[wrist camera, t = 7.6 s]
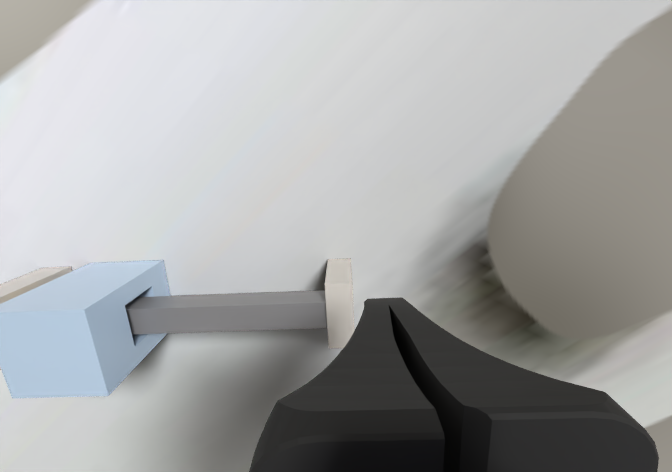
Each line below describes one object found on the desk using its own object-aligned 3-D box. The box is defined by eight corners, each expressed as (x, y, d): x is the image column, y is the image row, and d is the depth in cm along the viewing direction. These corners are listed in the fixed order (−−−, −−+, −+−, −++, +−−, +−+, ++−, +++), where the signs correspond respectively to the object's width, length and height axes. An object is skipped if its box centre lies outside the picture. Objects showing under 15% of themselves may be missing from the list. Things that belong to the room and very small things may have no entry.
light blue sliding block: (163, 260, 21) (84, 309, 15) (176, 324, 23) (108, 395, 16) (90, 262, 22) (-20, 313, 15) (107, 326, 23) (12, 398, 16)
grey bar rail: (350, 255, 21) (352, 286, 16) (352, 315, 22) (355, 360, 18) (40, 267, 22) (-44, 301, 17) (58, 325, 23) (-16, 371, 18)
